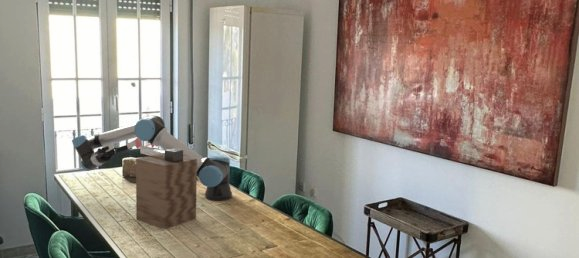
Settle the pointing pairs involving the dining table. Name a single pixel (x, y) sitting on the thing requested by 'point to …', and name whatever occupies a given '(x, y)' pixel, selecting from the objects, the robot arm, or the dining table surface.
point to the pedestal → (165, 191)
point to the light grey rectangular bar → (164, 154)
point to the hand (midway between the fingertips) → (124, 143)
